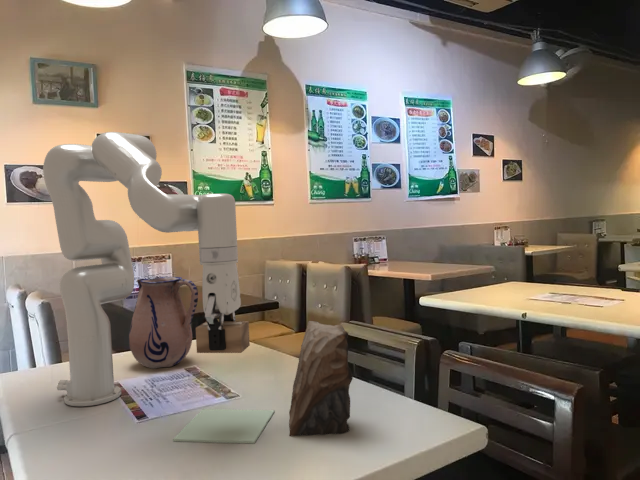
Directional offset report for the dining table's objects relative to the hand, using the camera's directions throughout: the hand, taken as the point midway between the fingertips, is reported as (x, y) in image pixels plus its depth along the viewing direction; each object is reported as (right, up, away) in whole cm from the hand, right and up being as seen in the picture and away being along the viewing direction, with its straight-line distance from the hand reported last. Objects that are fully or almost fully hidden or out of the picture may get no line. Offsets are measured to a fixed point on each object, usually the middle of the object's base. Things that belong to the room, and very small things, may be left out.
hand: (223, 344), depth 111 cm
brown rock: (+19, -16, -1) cm, 25 cm away
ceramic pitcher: (-24, -15, +49) cm, 57 cm away
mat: (+1, -17, +1) cm, 17 cm away
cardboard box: (0, -1, 0) cm, 1 cm away
